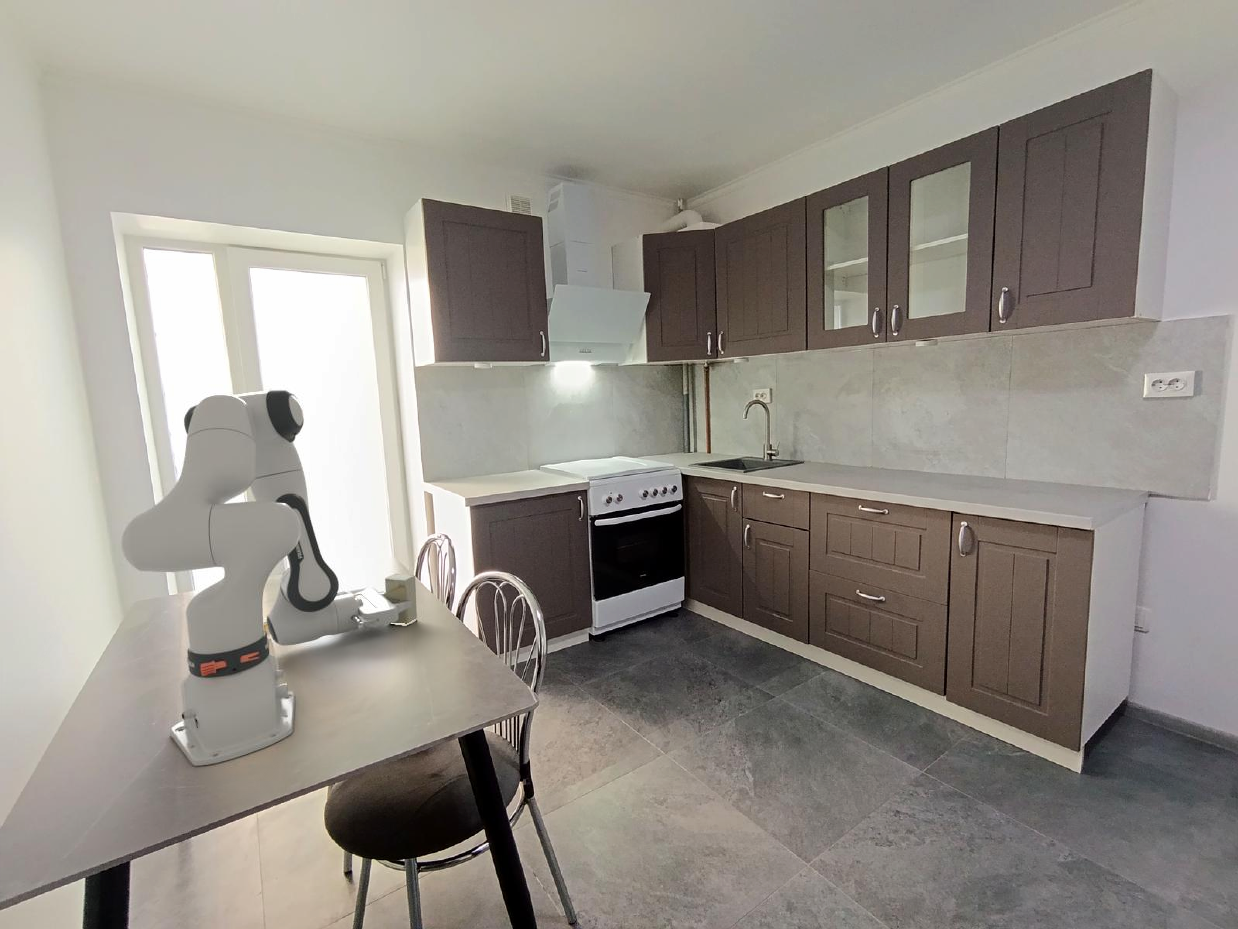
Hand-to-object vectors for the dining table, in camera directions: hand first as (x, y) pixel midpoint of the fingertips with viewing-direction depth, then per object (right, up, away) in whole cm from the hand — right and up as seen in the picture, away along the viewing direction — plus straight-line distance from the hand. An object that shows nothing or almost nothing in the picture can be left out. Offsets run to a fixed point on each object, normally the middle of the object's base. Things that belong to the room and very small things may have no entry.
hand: (404, 599), depth 146 cm
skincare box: (0, -6, 0) cm, 6 cm away
